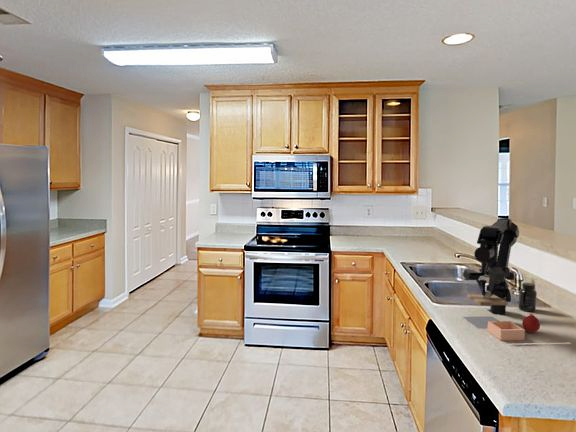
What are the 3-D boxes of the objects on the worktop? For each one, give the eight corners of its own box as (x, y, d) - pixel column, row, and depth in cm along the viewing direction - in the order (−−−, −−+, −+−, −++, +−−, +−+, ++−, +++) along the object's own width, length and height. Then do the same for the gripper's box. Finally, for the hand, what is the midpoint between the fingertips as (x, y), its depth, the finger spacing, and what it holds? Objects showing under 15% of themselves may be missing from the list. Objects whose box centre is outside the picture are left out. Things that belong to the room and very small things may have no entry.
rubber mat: (462, 318, 178) (462, 316, 178) (492, 317, 179) (492, 316, 178) (478, 329, 165) (478, 328, 165) (510, 329, 166) (510, 327, 166)
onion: (533, 330, 165) (534, 310, 164) (542, 336, 159) (544, 315, 158) (518, 330, 164) (520, 310, 164) (527, 336, 159) (529, 316, 158)
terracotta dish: (487, 332, 162) (487, 321, 161) (509, 332, 163) (510, 321, 162) (500, 342, 153) (501, 330, 153) (524, 341, 154) (524, 329, 153)
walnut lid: (467, 297, 176) (467, 288, 175) (492, 296, 176) (493, 288, 176) (480, 305, 165) (481, 296, 164) (507, 305, 165) (508, 295, 165)
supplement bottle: (515, 306, 193) (517, 281, 192) (531, 307, 192) (533, 282, 191) (521, 311, 186) (523, 285, 185) (538, 312, 185) (540, 286, 184)
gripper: (477, 262, 160) (474, 302, 162) (524, 262, 161) (521, 301, 163) (463, 256, 171) (461, 293, 173) (507, 256, 172) (505, 293, 174)
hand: (487, 295), depth 170 cm, fingers closed on walnut lid, 3 cm apart
